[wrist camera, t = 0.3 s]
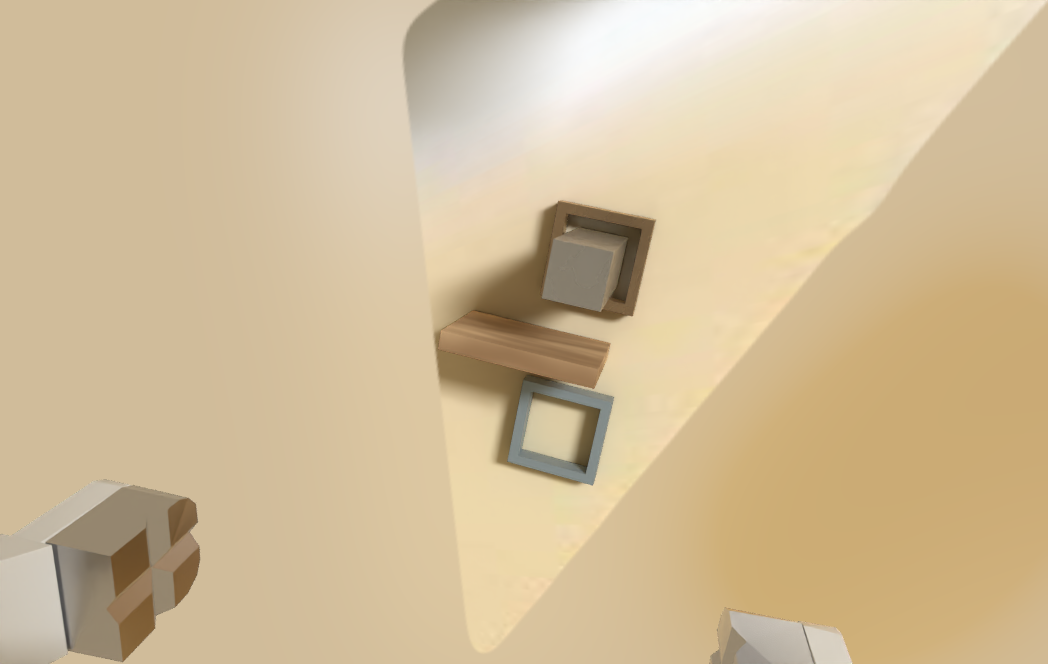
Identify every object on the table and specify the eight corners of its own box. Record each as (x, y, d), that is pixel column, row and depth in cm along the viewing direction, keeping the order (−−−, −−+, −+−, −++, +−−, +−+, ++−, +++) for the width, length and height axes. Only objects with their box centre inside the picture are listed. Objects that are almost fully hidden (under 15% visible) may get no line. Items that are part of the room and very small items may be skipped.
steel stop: (579, 227, 55) (553, 239, 44) (628, 237, 54) (613, 252, 43) (569, 275, 56) (541, 298, 45) (617, 286, 55) (600, 311, 44)
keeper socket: (527, 375, 58) (523, 380, 57) (614, 397, 57) (612, 402, 55) (511, 454, 60) (507, 461, 59) (595, 477, 59) (593, 485, 57)
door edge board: (473, 310, 58) (441, 330, 50) (610, 343, 56) (598, 369, 48) (470, 326, 58) (437, 349, 51) (606, 360, 56) (594, 388, 49)
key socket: (561, 200, 54) (558, 201, 53) (655, 219, 53) (655, 220, 52) (543, 291, 56) (540, 294, 55) (634, 312, 55) (632, 316, 54)
